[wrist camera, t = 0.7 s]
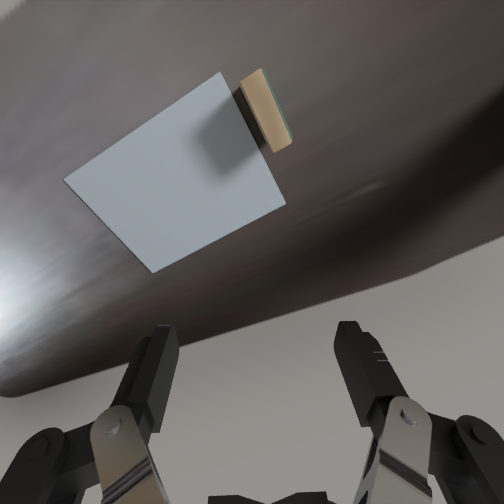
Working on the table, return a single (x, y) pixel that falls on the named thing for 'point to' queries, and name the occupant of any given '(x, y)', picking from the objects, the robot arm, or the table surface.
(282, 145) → the tile
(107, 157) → the mat
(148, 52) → the table surface
